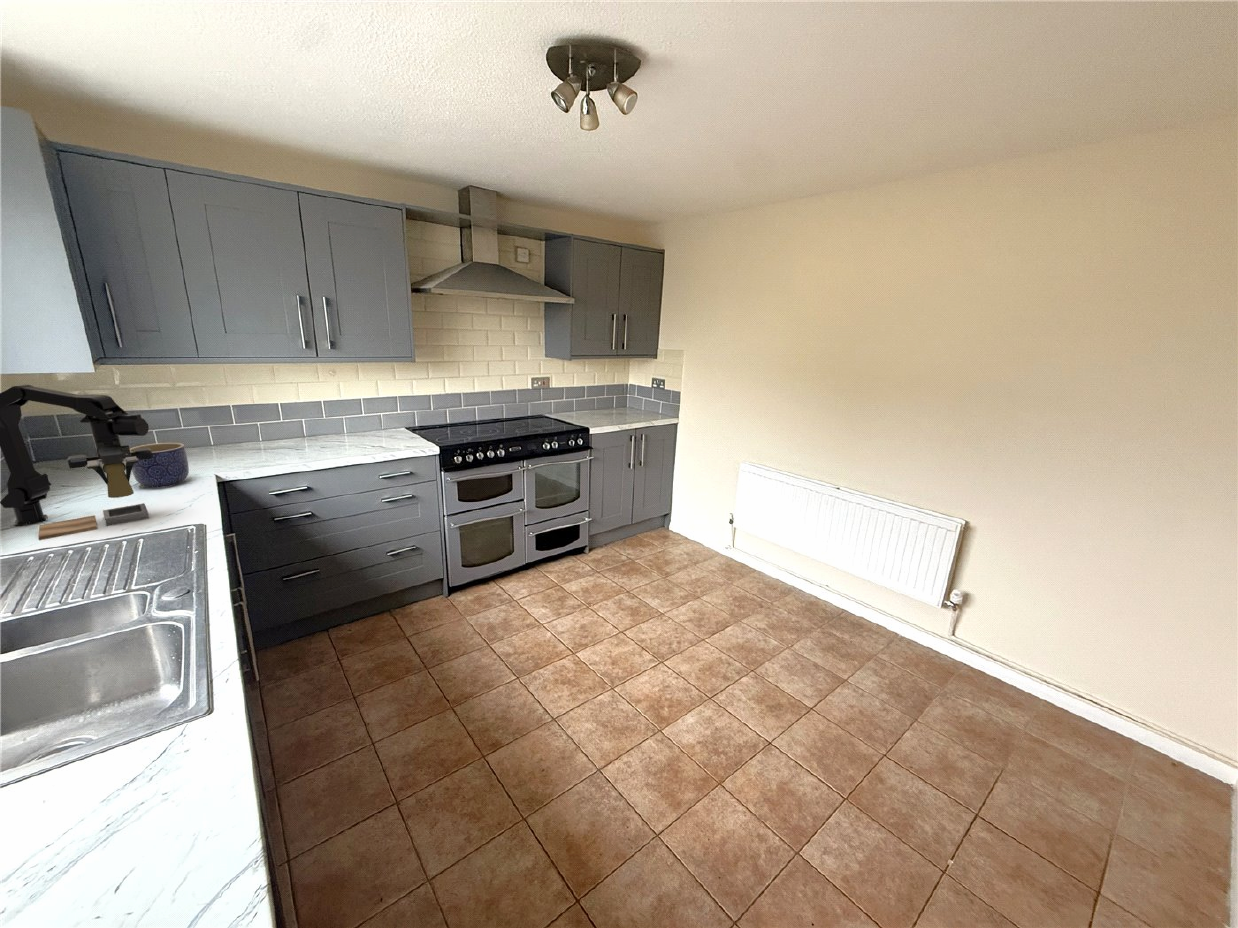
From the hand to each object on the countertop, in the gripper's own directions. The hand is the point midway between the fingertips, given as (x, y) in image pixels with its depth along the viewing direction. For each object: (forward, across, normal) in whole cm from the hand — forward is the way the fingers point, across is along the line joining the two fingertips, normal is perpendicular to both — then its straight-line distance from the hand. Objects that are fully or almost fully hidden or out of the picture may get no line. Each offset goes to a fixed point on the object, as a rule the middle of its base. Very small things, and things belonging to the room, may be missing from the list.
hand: (118, 482), depth 159 cm
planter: (+12, +13, +36) cm, 40 cm away
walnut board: (+12, -13, 0) cm, 18 cm away
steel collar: (+12, 0, 0) cm, 12 cm away
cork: (+4, 0, 0) cm, 4 cm away
